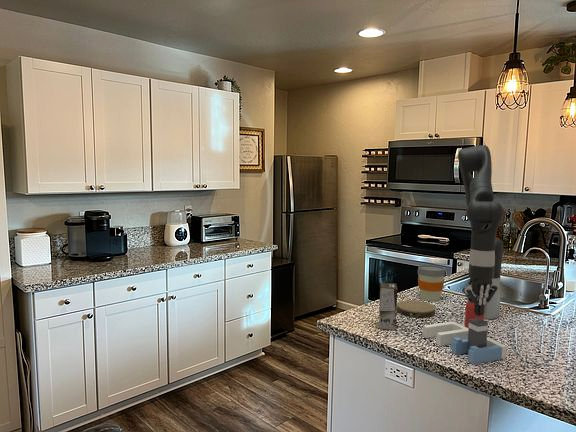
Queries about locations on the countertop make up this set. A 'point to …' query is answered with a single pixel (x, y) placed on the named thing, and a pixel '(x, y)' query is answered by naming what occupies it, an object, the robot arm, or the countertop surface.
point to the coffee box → (388, 306)
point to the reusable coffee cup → (430, 282)
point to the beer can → (470, 313)
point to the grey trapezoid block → (477, 333)
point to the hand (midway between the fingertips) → (478, 315)
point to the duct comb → (464, 342)
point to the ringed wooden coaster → (415, 309)
